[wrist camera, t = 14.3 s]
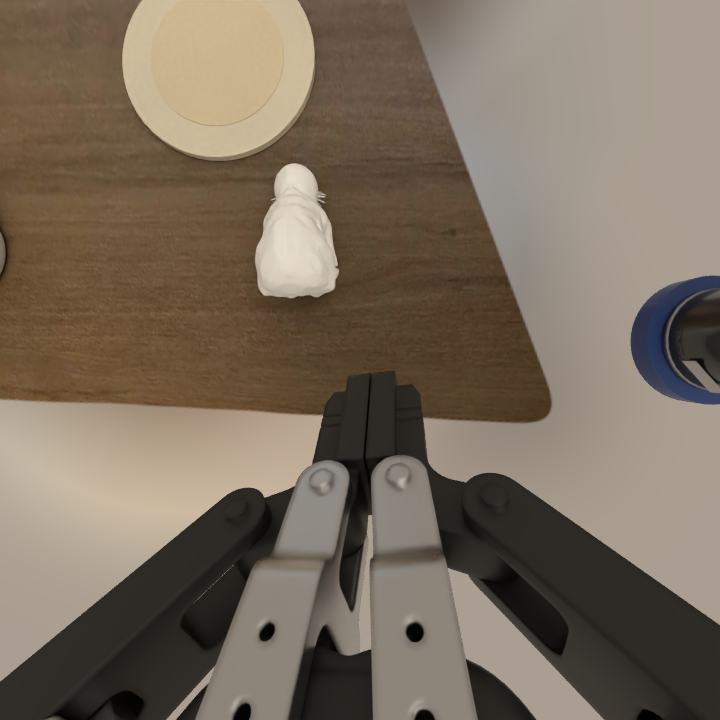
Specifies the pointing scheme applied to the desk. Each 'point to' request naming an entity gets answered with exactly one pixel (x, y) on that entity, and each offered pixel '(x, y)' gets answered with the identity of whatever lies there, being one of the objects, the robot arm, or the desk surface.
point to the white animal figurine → (296, 239)
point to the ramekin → (2, 252)
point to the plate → (219, 73)
